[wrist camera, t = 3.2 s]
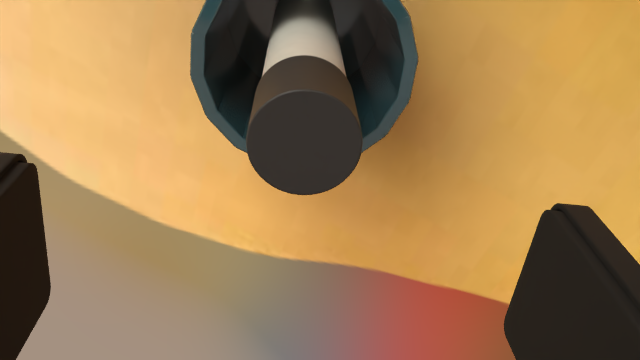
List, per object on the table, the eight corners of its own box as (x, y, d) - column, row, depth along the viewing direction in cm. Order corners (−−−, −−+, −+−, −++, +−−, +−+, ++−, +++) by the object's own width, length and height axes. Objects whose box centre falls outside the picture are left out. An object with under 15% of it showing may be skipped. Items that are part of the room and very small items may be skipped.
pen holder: (402, -63, 26) (438, -36, 19) (372, 104, 30) (394, 177, 23) (223, -86, 26) (193, -68, 18) (216, 87, 29) (188, 157, 22)
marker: (340, -10, 27) (371, 96, 14) (331, 54, 28) (353, 201, 16) (274, -18, 26) (249, 83, 14) (269, 47, 28) (242, 190, 16)
